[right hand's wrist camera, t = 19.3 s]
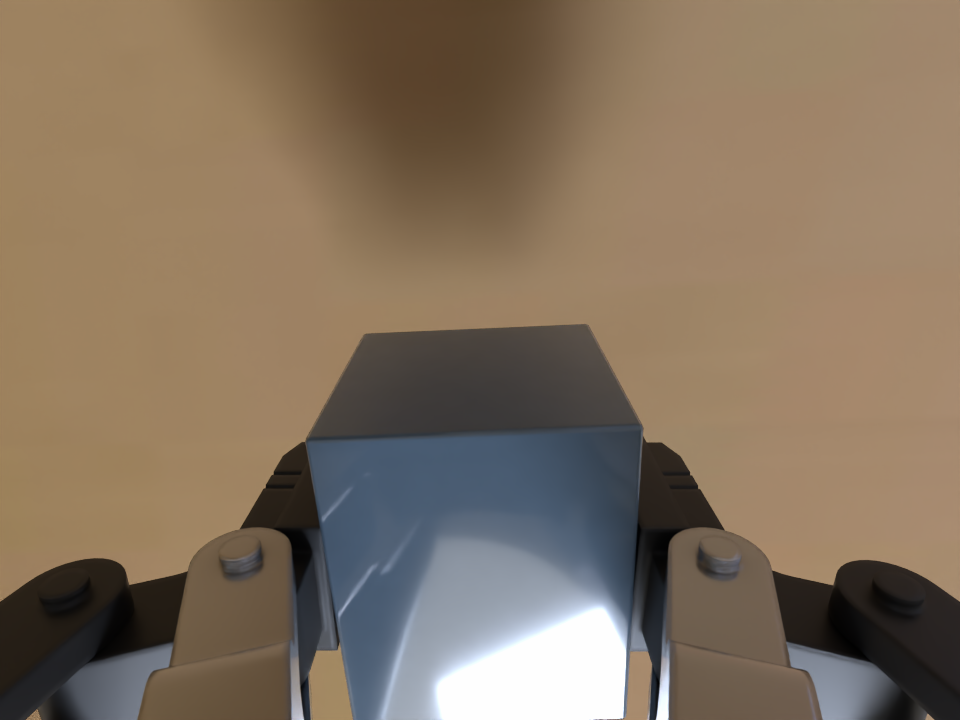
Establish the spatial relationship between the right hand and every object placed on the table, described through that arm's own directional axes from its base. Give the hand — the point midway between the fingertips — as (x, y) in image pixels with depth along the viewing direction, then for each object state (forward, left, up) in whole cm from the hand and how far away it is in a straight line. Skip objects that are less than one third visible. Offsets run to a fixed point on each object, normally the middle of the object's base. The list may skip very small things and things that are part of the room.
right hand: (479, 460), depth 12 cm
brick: (0, 0, 0) cm, 0 cm away
